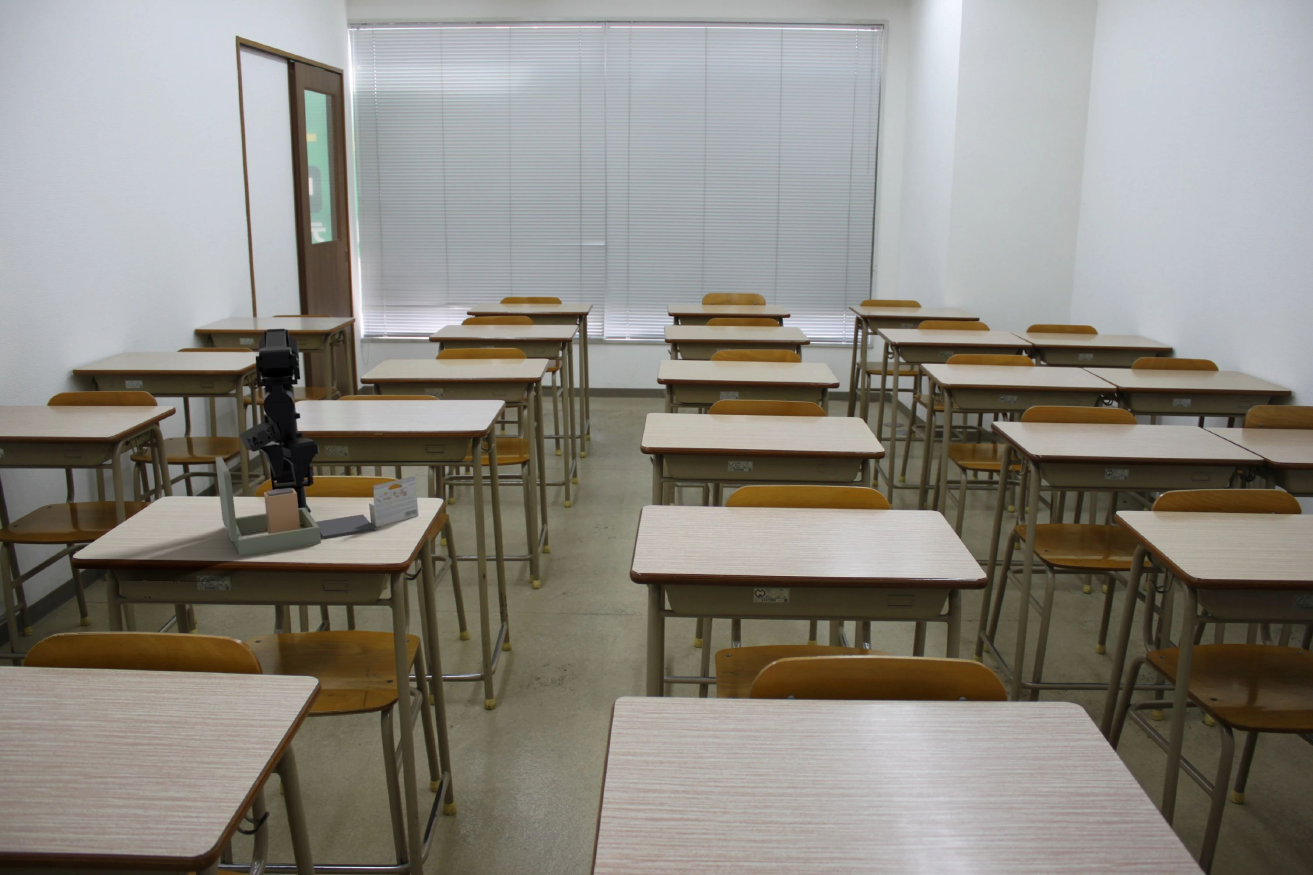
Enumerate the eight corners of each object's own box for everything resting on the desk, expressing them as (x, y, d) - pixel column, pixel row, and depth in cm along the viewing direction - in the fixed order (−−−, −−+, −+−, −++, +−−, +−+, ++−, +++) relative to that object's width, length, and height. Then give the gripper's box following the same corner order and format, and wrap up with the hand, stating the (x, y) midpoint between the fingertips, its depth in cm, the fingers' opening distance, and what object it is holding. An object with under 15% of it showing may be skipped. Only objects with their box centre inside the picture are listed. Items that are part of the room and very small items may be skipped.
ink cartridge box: (370, 525, 216) (366, 483, 213) (413, 514, 224) (410, 473, 221) (375, 527, 214) (372, 485, 212) (419, 516, 222) (416, 475, 220)
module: (268, 536, 208) (263, 490, 206) (297, 532, 211) (293, 486, 209) (271, 542, 205) (266, 495, 202) (300, 537, 208) (296, 491, 205)
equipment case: (224, 535, 209) (215, 457, 205) (306, 522, 218) (299, 447, 214) (233, 557, 196) (224, 474, 192) (320, 542, 204) (313, 463, 200)
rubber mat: (313, 524, 216) (313, 522, 216) (363, 516, 221) (362, 514, 221) (323, 538, 207) (323, 536, 207) (374, 530, 212) (374, 527, 212)
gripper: (222, 408, 200) (230, 480, 204) (264, 423, 188) (272, 499, 192) (273, 400, 208) (280, 469, 212) (317, 414, 196) (323, 487, 200)
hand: (288, 481), depth 204 cm, fingers open, 9 cm apart
